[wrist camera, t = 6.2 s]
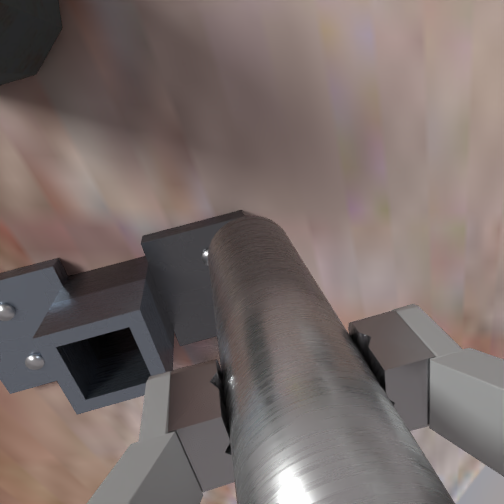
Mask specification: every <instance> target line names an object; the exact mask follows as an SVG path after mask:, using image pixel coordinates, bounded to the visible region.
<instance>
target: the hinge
mask: <svg viewBox="0 0 504 504" xmlns="http://www.w3.org/2000/svg"><path fill="white" fill-rule="evenodd" d="M240 217H245V216H244V214H243V212H242V210H240V211H236V212H232V213H229V214H225V215H221V216H217V217H213V218H209V219H206V220H202V221H198V222H194V223H190V224H186V225H183V226H179V227H175V228H171V229H167V230H163V231H160V232H156V233H152V234H148V235H144V236H143V237H142V241H141V245H142V248H143V250H144V253H145V256H144V257H140V258H136V259H132V260H129V261H125V262H121V263H117V264H114V265H110V266H106V267H102V268H98V269H95V270H91V271H87V272H83V273H80V274H76V275H72V276H67V274H66V272H65V270H64V268H63V266H62V264H61V262H60V260H59V258H56V259H53V260H49V261H45V262H41V263H37V264H33V265H30V266H26V267H22V268H18V269H14V270H10V271H7V272H3V273H0V380H1V381H2V383H3V384H4V386H5V387H6V389H7V390H8V392H9V393H10V394H11V393H15V392H18V391H22V390H25V389H29V388H33V387H36V386H40V385H43V384H47V383H50V382H54V381H57V382H58V384H59V385H60V387H61V389H62V390H63V392H64V394H65V395H66V397H67V399H68V400H69V402H70V404H71V405H72V407H73V409H74V410H75V412H76V414H81V413H84V412H88V411H91V410H95V409H98V408H102V407H105V406H109V405H112V404H116V403H119V402H123V401H126V400H130V399H133V398H136V397H140V396H143V395H145V388H146V382H147V380H148V378H149V377H150V376H153V375H157V374H161V373H165V372H169V371H172V370H173V349H174V332H175V334H176V337H177V340H178V342H179V345H180V346H183V345H186V344H190V343H193V342H197V341H200V340H204V339H208V338H211V337H215V336H217V331H216V323H215V314H214V306H213V298H212V290H211V281H210V273H209V265H208V250H209V246H210V243H211V241H212V239H213V237H214V236H215V234H216V233H217V232H218V231H219V229H220V228H222V227H223V226H224V225H225V224H227V223H228V222H230V221H232V220H234V219H237V218H240Z"/></svg>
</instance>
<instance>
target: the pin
mask: <svg viewBox="0 0 504 504" xmlns="http://www.w3.org/2000/svg"><path fill="white" fill-rule="evenodd" d="M208 265H209V273H210V281H211V290H212V298H213V306H214V314H215V323H216V331H217V339H218V348H219V356H220V364H221V371H222V379H223V387H224V396H225V405H226V411H227V420H228V428H229V436H230V447H231V455H232V463H233V472H234V480H235V488H236V497H237V504H455V503H454V501H453V500H452V498H451V496H450V495H449V493H448V492H447V490H446V488H445V487H444V485H443V484H442V482H441V480H440V479H439V477H438V476H437V474H436V472H435V471H434V469H433V468H432V466H431V464H430V463H429V461H428V460H427V458H426V457H425V455H424V453H423V452H422V450H421V449H420V447H419V445H418V444H417V442H416V441H415V439H414V437H413V436H412V434H411V433H410V431H409V429H408V428H407V426H406V425H405V423H404V421H403V420H402V418H401V417H400V415H399V413H398V412H397V410H396V409H395V407H394V405H393V404H392V402H391V401H390V399H389V397H388V396H387V394H386V393H385V391H384V389H383V388H382V386H381V385H380V383H379V382H378V380H377V378H376V377H375V375H374V374H373V372H372V370H371V369H370V367H369V366H368V364H367V362H366V361H365V359H364V358H363V356H362V354H361V353H360V351H359V350H358V348H357V346H356V345H355V343H354V342H353V340H352V338H351V337H350V335H349V334H348V332H347V330H346V329H345V327H344V326H343V324H342V322H341V321H340V319H339V318H338V316H337V314H336V313H335V311H334V310H333V308H332V307H331V305H330V303H329V302H328V300H327V299H326V297H325V295H324V294H323V292H322V291H321V289H320V287H319V286H318V284H317V283H316V281H315V279H314V278H313V276H312V275H311V273H310V271H309V270H308V268H307V267H306V265H305V263H304V262H303V260H302V259H301V257H300V255H299V254H298V252H297V251H296V249H295V247H294V246H293V244H292V243H291V241H290V239H289V238H288V236H287V235H286V233H285V232H284V230H283V229H282V228H281V227H280V226H279V225H278V224H276V223H275V222H273V221H272V220H270V219H267V218H264V217H259V216H245V217H240V218H237V219H234V220H232V221H230V222H228V223H227V224H225V225H224V226H223V227H222V228H220V229H219V231H218V232H217V233H216V234H215V236H214V237H213V239H212V241H211V243H210V246H209V250H208Z"/></svg>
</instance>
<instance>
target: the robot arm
mask: <svg viewBox="0 0 504 504" xmlns="http://www.w3.org/2000/svg"><path fill="white" fill-rule="evenodd" d="M348 330H349V335H350V337H351V338H352V340H353V342H354V343H355V345H356V346H357V348H358V350H359V351H360V353H361V354H362V356H363V358H364V359H365V361H366V362H367V364H368V366H369V367H370V369H371V370H372V372H373V374H374V375H375V377H376V378H377V380H378V382H379V383H380V385H381V386H382V388H383V389H384V391H385V393H386V394H387V396H388V397H389V399H390V401H391V402H392V404H393V405H394V407H395V409H396V410H397V412H398V413H399V415H400V417H401V418H402V420H403V421H404V423H405V425H406V426H407V428H408V429H409V431H411V430H415V429H419V428H423V427H427V426H429V428H430V429H432V430H433V431H435V432H436V433H438V434H439V435H441V436H442V437H444V438H446V439H447V440H449V441H450V442H452V443H453V444H455V445H456V446H458V447H459V448H461V449H462V450H464V451H465V452H467V453H469V454H470V455H472V456H473V457H475V458H476V459H478V460H479V461H481V462H482V463H484V464H485V465H487V466H488V467H490V468H492V469H493V470H495V471H496V472H498V473H499V474H501V475H502V476H504V359H501V358H498V357H495V356H492V355H489V354H486V353H484V352H481V351H478V350H475V349H472V348H467V349H462V348H461V347H460V346H459V345H458V344H457V343H456V342H455V341H454V340H453V339H452V338H451V337H450V336H449V335H448V334H447V333H446V332H445V331H443V330H442V329H441V328H440V327H439V326H438V325H437V324H436V323H435V322H434V321H433V320H432V319H431V318H430V317H429V316H428V315H427V314H426V313H425V312H424V311H423V310H422V309H421V308H420V307H419V306H418V305H415V304H411V305H407V306H404V307H401V308H397V309H394V310H392V311H389V312H385V313H382V314H378V315H375V316H371V317H368V318H364V319H360V320H357V321H353V322H350V323H349V327H348ZM233 482H235V480H234V472H233V463H232V455H231V447H230V436H229V428H228V420H227V411H226V405H225V396H224V387H223V379H222V371H221V368H220V366H219V363H218V361H217V359H215V360H211V361H207V362H203V363H199V364H195V365H191V366H187V367H183V368H179V369H175V370H172V371H169V372H165V373H161V374H157V375H153V376H150V377H149V378H148V380H147V382H146V388H145V396H144V403H143V411H142V419H141V426H140V434H139V442H136V443H133V444H131V445H130V446H129V447H128V449H127V450H126V451H125V453H124V454H123V456H122V457H121V458H120V460H119V461H118V462H117V464H116V465H115V466H114V468H113V469H112V470H111V472H110V473H109V474H108V476H107V477H106V478H105V480H104V481H103V482H102V484H101V485H100V486H99V488H98V489H97V490H96V492H95V493H94V494H93V496H92V497H91V498H90V500H89V501H88V503H87V504H200V502H201V499H202V497H203V494H202V492H205V491H208V490H211V489H214V488H217V487H220V486H223V485H226V484H230V483H233Z"/></svg>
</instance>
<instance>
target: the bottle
mask: <svg viewBox="0 0 504 504" xmlns="http://www.w3.org/2000/svg"><path fill="white" fill-rule="evenodd" d="M61 29H62V24H61V17H60V9H59V2H58V0H0V85H2V84H5V83H9V82H12V81H15V80H19V79H22V78H25V77H29V76H32V75H35V74H37V72H38V70H39V68H40V67H41V65H42V63H43V61H44V59H45V58H46V56H47V54H48V52H49V51H50V49H51V47H52V45H53V43H54V42H55V40H56V38H57V36H58V34H59V33H60V31H61Z"/></svg>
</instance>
